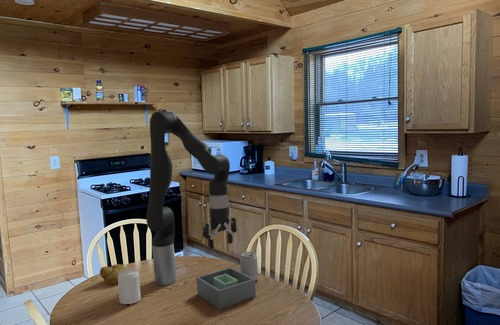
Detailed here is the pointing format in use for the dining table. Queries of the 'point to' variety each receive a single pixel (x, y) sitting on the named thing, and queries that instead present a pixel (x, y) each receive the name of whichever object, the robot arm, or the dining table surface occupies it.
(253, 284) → the big crate
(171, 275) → the robot arm
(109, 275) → the bread roll
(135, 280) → the white cylinder
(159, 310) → the dining table surface
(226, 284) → the small crate
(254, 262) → the can
